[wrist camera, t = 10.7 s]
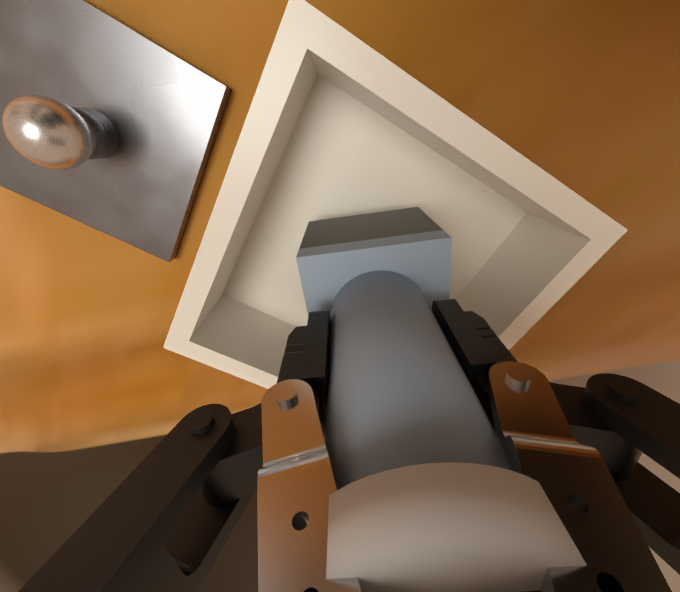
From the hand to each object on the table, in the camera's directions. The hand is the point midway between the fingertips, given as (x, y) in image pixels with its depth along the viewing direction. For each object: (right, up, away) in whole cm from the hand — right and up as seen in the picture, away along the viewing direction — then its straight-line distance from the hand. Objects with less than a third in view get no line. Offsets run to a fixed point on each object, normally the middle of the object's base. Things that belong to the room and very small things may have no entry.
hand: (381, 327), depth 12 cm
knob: (0, +3, +6) cm, 7 cm away
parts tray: (0, +4, +8) cm, 9 cm away
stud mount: (-14, +10, +5) cm, 17 cm away
